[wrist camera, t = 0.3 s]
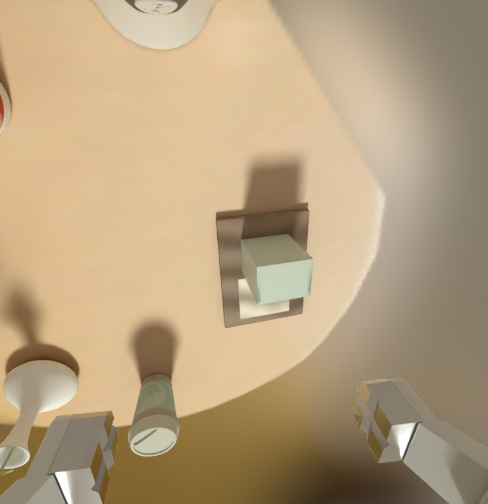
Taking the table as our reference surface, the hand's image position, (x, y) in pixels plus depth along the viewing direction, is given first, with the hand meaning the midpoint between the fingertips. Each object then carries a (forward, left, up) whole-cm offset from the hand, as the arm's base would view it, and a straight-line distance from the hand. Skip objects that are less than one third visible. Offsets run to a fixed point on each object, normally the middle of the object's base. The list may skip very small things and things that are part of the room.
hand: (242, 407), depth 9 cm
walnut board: (+17, +12, -38) cm, 44 cm away
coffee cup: (+40, -11, -38) cm, 57 cm away
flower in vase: (+33, -30, -38) cm, 59 cm away
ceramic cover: (+13, +12, -37) cm, 41 cm away
